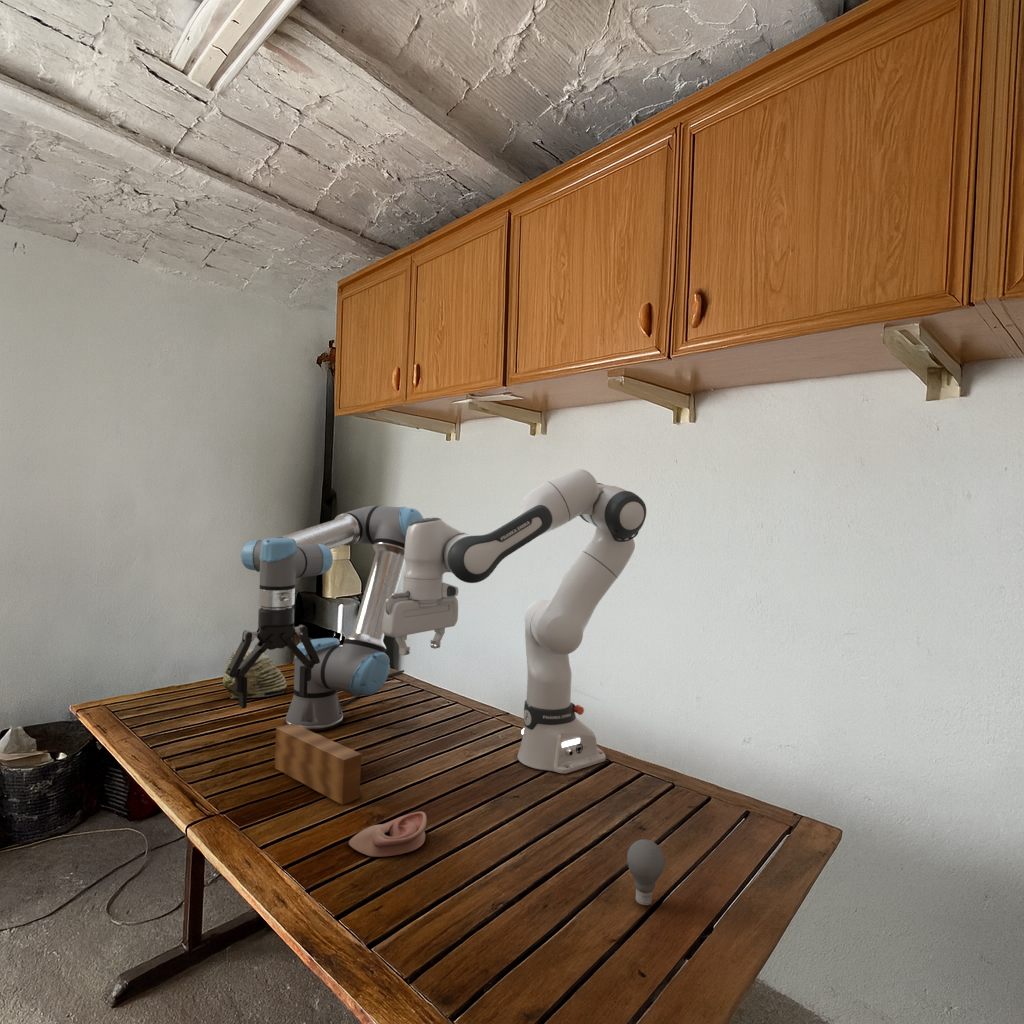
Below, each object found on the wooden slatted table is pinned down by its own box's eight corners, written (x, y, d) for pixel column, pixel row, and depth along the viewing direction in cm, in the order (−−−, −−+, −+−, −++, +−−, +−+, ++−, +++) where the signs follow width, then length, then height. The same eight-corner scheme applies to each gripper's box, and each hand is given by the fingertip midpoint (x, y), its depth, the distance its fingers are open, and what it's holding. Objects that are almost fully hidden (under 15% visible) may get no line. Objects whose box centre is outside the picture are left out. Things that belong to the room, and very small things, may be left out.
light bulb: (620, 891, 105) (623, 832, 105) (655, 891, 106) (658, 832, 106) (630, 915, 99) (633, 852, 99) (667, 914, 100) (670, 852, 100)
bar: (274, 768, 147) (275, 727, 146) (291, 762, 150) (293, 722, 150) (342, 805, 131) (344, 759, 130) (359, 798, 134) (361, 753, 134)
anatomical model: (341, 830, 113) (368, 800, 124) (340, 851, 113) (367, 820, 124) (411, 841, 110) (433, 810, 122) (411, 863, 111) (432, 830, 122)
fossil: (218, 695, 195) (220, 647, 195) (278, 685, 208) (279, 640, 207) (228, 703, 189) (230, 653, 188) (289, 692, 201) (290, 645, 201)
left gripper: (223, 615, 131) (220, 716, 132) (336, 605, 148) (333, 695, 148) (212, 609, 137) (209, 706, 137) (322, 600, 153) (319, 687, 154)
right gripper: (396, 595, 132) (394, 661, 132) (463, 587, 148) (461, 646, 148) (377, 592, 136) (374, 656, 136) (444, 584, 152) (442, 642, 152)
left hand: (273, 700), depth 143 cm, fingers open, 13 cm apart
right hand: (420, 651), depth 142 cm, fingers open, 8 cm apart
